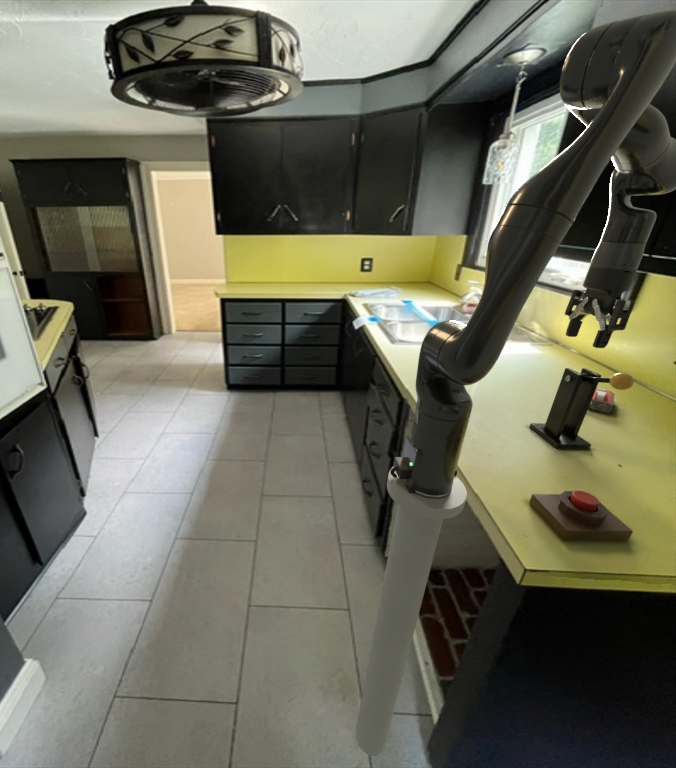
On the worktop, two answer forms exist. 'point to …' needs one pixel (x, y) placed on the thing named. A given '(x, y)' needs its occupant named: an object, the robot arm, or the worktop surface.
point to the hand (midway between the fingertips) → (584, 341)
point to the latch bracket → (568, 411)
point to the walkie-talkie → (602, 401)
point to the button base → (579, 519)
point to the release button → (584, 501)
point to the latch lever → (612, 380)
